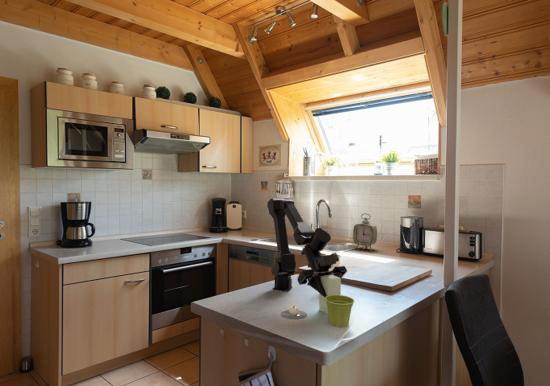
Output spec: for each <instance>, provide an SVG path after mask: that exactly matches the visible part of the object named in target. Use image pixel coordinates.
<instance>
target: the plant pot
mask: <svg viewBox="0 0 550 386" xmlns="http://www.w3.org/2000/svg"><path fill="white" fill-rule="evenodd" d="M325 300H326V304H327V307H328V314H327V315H328V316H327V317H328V323H329V325H330V326H332V327H337V328H347V327H348V326H349V324H350V319H351V313H352V308H353V306H354V303H355V299H354V298H353V297H351V296H348V295H343V294H342V295H341V294H340V295H329V296H326V297H325Z"/></svg>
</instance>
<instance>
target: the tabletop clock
mask: <svg viewBox="0 0 550 386" xmlns="http://www.w3.org/2000/svg"><path fill="white" fill-rule="evenodd" d="M364 215H368V216H369V218H368V217H363V216H364ZM360 217H361V219H362V222H361V223H356V224H354V226H353V233H352V236H353V238H352V239H353V243H354V244H356V246H355V247H354V248H355V250H357V249H358V247H359V246H365V247H364V248H365V250H367V249H368V246H369V251H371V252H372V251H373V248H372V245H375V244H376V243H377V241H378V240H377V239H378V227H377V226H376V225H375V224H373V223H370V221H369V220H370V219H371V218H372V217H371V215H370V214H369V213H362V214H361V215H360Z"/></svg>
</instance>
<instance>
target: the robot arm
mask: <svg viewBox="0 0 550 386" xmlns="http://www.w3.org/2000/svg"><path fill="white" fill-rule="evenodd" d="M267 209H268V213H269V215H270V216H271V218H272V219H273V223H274V224H273V225H274V233H275V240H276V247H277V249H276V250H277V252H276V256H275V258H274V261H275V262H274V264H273V266H272V268H271V275H272V276H274V286H273V287H272V290H276V291H282V292H287V291H289V290H291V289H292V288H293V286H292V283H293V280H292V276H293V275H294V274H295V272H296V267H297V263H296V262H297V261H296V258H295V257H296V255H295V254H294V253H292V252H291V251H290V246H289V245H290V244H289V241H288V239H289V238H288V231H287V224H286V217H287V219H288V221H289V224H290V225H291V227H292V229H293V236H292V237H294V238H293V239H294V241H295V243H296V244H297V246H304V247H302V248H301V252H300V255H301V256H305V259H306V260H307V263H308V264H307V268H309V269H302V270H301V272H300V273H299V275H298V276H297V283H298V285H307V286H309V287H311V288H312V289H314V290H315V291H316V292H317V293H319V294H321V295H322V296H324V297H326V296H327V295H326V292H325V290H324V287H323V285H322V283H321V277H320V276H326V275H334V276H336V277H339V278H341V279H342V278H343V277H344V276H345V274H346V273H347V272H348V270H347V268H346V265H341V266H335V268H334V269H333V270H331V271H329V269H330V268H331V267H332V266H331V265H333V264H336V262H338V261H339V257H338V255H339V254H337V252H334V253H333V252H332V253H329V254H330V255H326V254H325V255H326V256H325V255H322V252H321V251H324V249H325V248H326V247H327V245H328V243H330V241H331V239H332V237H331V235H330V233H329V232H328V231H326V230H325V229H323V228H322V227H316V229H315V230H313V229H312V228H311V226H309V225H308V224H307V223H305V221H304V220H303V218H302V217H301V216H302V215H300V213H299V211H298V209H297V208H296V206H295V202H294V200H293V199H285V197H284V198H281V197H277V198H269V200H268V202H267Z"/></svg>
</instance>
